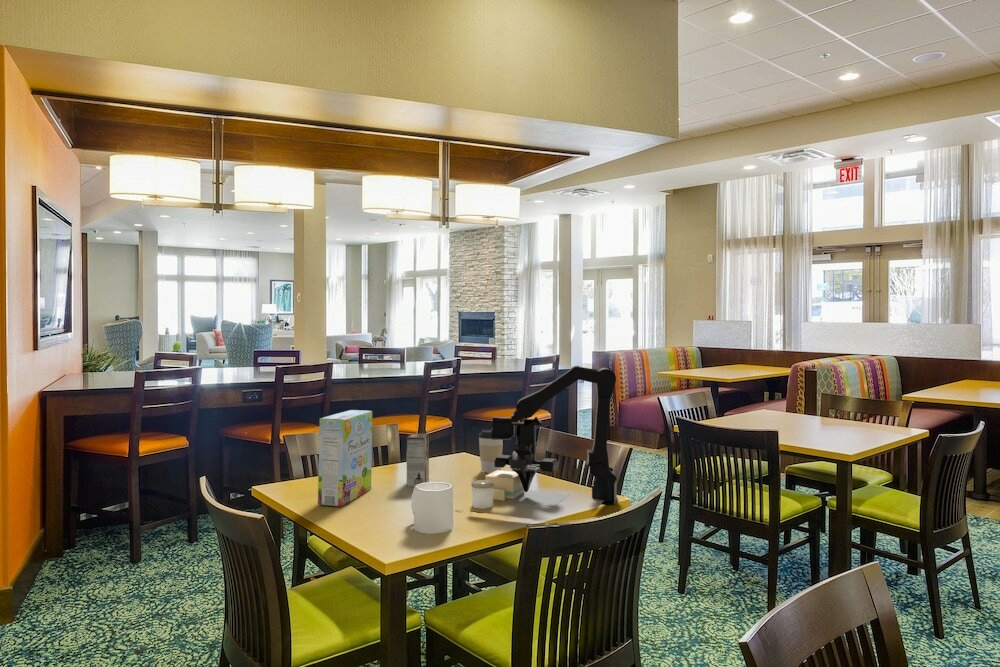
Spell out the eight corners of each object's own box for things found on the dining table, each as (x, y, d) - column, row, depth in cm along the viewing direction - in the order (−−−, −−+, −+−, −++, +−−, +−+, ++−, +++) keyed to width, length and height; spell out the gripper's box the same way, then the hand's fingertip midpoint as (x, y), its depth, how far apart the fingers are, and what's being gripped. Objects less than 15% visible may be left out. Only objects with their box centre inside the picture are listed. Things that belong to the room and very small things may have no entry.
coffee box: (410, 480, 223) (410, 433, 223) (429, 480, 223) (429, 433, 223) (406, 486, 214) (405, 437, 214) (425, 486, 214) (425, 437, 214)
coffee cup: (493, 475, 230) (493, 432, 230) (473, 471, 236) (473, 430, 236) (508, 470, 237) (508, 429, 237) (488, 467, 243) (488, 426, 243)
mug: (397, 525, 173) (397, 484, 173) (427, 516, 181) (427, 478, 181) (431, 536, 164) (431, 493, 164) (461, 526, 171) (461, 486, 171)
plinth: (568, 498, 199) (568, 484, 199) (553, 510, 186) (553, 495, 186) (493, 490, 209) (493, 477, 209) (474, 501, 196) (474, 487, 196)
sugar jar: (497, 508, 189) (497, 481, 189) (488, 514, 183) (488, 486, 183) (477, 505, 191) (477, 479, 191) (467, 511, 186) (467, 484, 185)
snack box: (344, 508, 189) (344, 419, 189) (316, 506, 191) (316, 418, 191) (373, 489, 211) (373, 409, 210) (348, 488, 212) (348, 408, 212)
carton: (524, 491, 202) (524, 472, 202) (513, 499, 194) (513, 478, 194) (497, 488, 206) (497, 469, 206) (485, 495, 198) (485, 475, 198)
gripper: (486, 442, 193) (486, 495, 193) (546, 446, 186) (546, 501, 186) (501, 436, 203) (501, 486, 203) (558, 440, 196) (559, 492, 196)
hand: (526, 491), depth 197 cm, fingers closed
